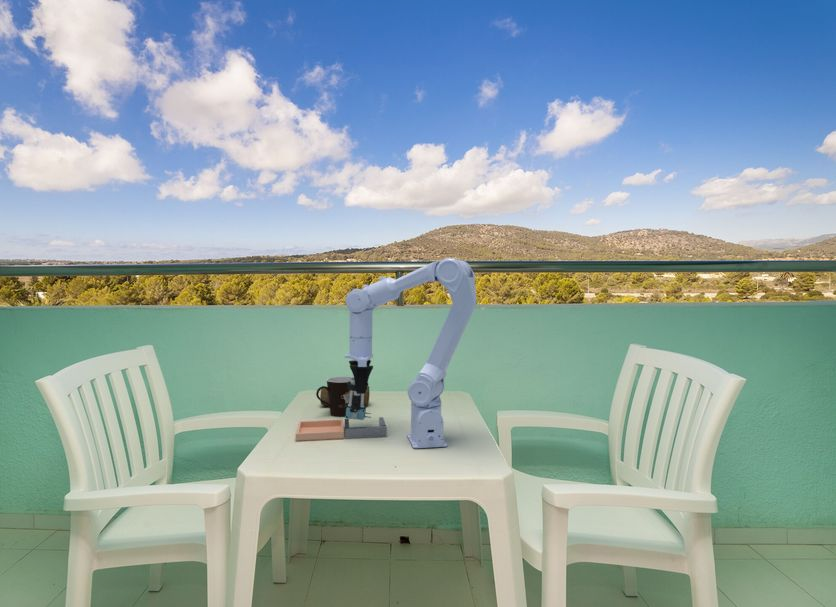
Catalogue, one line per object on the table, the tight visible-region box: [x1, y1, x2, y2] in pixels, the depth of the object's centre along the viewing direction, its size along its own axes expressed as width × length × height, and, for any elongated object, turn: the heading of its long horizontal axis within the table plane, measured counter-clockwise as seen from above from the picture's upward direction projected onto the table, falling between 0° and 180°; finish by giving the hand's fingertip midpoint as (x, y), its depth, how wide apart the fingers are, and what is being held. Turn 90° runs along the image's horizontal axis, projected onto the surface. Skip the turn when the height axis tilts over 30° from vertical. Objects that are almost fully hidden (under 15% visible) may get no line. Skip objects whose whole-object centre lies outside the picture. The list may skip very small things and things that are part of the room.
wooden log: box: [319, 385, 371, 407], centre depth 138 cm, size 15×7×7 cm, turn 99°
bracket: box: [343, 416, 388, 440], centre depth 113 cm, size 8×10×2 cm
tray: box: [295, 419, 345, 442], centre depth 111 cm, size 10×11×2 cm
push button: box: [345, 378, 372, 421], centre depth 113 cm, size 7×5×10 cm
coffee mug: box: [315, 376, 354, 418], centre depth 129 cm, size 12×9×10 cm
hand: (360, 390), depth 113 cm, fingers closed on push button, 5 cm apart
